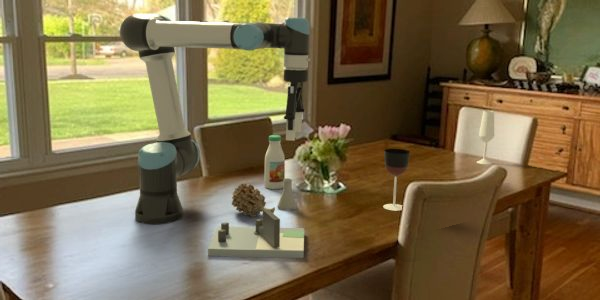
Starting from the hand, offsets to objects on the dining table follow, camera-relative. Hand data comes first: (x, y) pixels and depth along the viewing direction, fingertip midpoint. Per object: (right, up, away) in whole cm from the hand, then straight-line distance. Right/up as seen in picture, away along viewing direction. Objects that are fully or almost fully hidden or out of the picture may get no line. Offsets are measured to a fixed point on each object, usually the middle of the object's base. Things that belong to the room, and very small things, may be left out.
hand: (293, 136), depth 189 cm
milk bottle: (-8, -19, +41) cm, 45 cm away
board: (-10, -32, -18) cm, 38 cm away
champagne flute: (+87, -10, +86) cm, 123 cm away
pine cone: (-13, -27, +5) cm, 30 cm away
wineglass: (+35, -24, +18) cm, 46 cm away
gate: (-7, -29, -20) cm, 36 cm away
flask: (-2, -24, +16) cm, 29 cm away
